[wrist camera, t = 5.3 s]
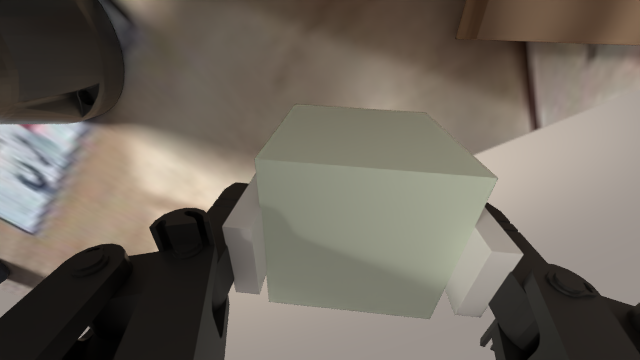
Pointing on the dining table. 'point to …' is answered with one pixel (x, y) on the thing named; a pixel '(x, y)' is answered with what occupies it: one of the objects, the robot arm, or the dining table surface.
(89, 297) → the robot arm
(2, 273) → the beverage can
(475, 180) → the pale green cube
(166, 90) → the dining table surface
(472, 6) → the walnut block
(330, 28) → the dining table surface
